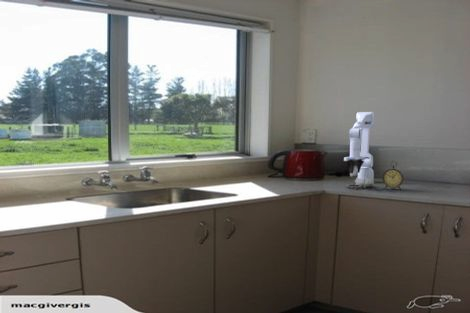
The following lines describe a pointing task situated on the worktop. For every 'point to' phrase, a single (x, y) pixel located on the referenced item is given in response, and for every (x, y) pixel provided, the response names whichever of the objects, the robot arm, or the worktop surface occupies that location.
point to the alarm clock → (393, 177)
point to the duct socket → (361, 183)
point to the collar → (354, 172)
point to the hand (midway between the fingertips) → (354, 172)
